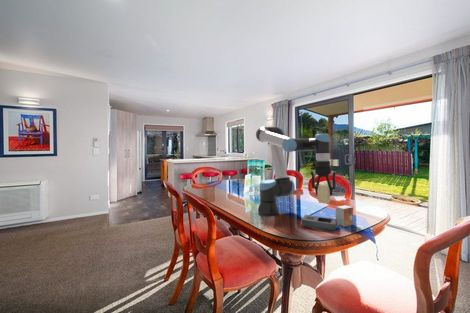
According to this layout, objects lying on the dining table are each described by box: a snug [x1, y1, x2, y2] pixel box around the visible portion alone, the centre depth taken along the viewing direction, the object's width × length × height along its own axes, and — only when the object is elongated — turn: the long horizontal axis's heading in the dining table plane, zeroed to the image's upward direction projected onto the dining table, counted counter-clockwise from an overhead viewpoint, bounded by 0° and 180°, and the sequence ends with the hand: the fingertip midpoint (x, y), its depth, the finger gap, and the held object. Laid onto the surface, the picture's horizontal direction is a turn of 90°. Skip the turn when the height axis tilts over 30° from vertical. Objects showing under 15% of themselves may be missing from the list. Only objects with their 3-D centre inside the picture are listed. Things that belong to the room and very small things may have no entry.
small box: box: [335, 204, 354, 228], centre depth 121 cm, size 8×6×10 cm
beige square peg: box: [317, 183, 330, 204], centre depth 118 cm, size 5×5×10 cm
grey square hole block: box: [300, 214, 338, 233], centre depth 120 cm, size 18×10×4 cm, turn 58°
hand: (323, 200), depth 118 cm, fingers closed on beige square peg, 5 cm apart
